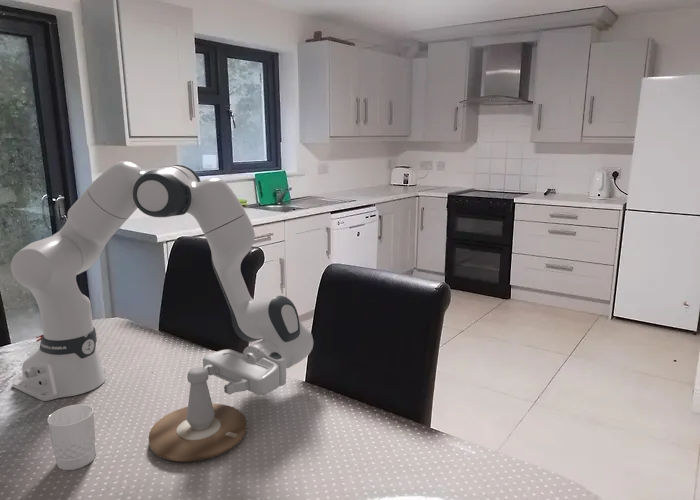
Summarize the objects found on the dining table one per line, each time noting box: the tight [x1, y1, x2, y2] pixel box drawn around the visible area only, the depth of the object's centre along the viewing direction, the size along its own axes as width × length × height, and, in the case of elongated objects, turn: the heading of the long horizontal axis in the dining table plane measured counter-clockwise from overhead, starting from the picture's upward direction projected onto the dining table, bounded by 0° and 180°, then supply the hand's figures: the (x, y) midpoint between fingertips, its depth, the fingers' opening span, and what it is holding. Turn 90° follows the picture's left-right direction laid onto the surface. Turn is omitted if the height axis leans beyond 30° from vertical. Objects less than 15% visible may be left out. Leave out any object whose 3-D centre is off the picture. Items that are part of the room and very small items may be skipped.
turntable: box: [148, 403, 248, 462], centre depth 108 cm, size 20×20×1 cm
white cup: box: [46, 403, 97, 471], centre depth 99 cm, size 8×8×10 cm
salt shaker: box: [186, 366, 214, 431], centre depth 107 cm, size 6×6×13 cm
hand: (212, 383), depth 109 cm, fingers open, 8 cm apart
